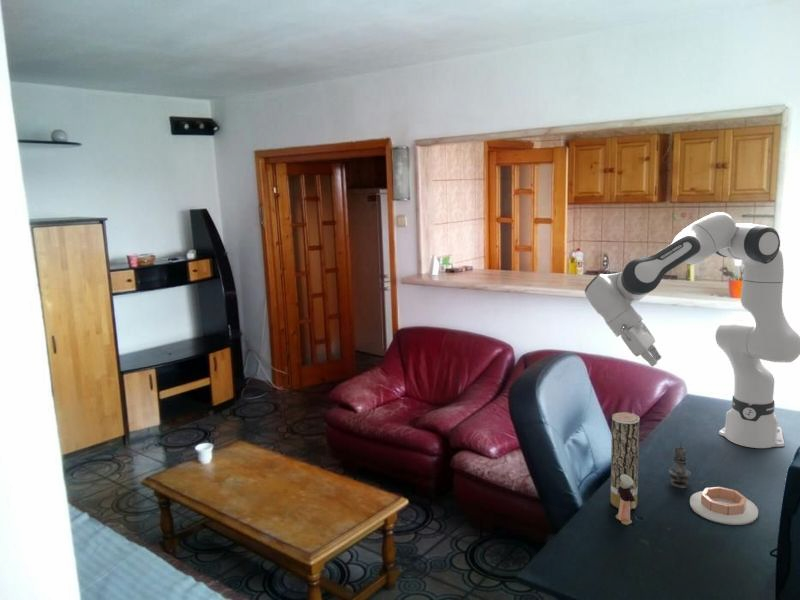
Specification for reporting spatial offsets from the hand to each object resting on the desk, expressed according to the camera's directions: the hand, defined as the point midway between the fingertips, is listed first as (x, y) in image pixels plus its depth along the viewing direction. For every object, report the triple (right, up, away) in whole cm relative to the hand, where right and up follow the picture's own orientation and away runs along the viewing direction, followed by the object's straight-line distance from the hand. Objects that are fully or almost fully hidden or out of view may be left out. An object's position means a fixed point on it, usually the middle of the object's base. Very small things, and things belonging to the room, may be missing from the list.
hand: (657, 362), depth 181 cm
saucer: (+11, -37, -15) cm, 42 cm away
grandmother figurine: (-16, -39, -19) cm, 46 cm away
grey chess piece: (+6, -35, -1) cm, 35 cm away
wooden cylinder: (-14, -38, -11) cm, 41 cm away
